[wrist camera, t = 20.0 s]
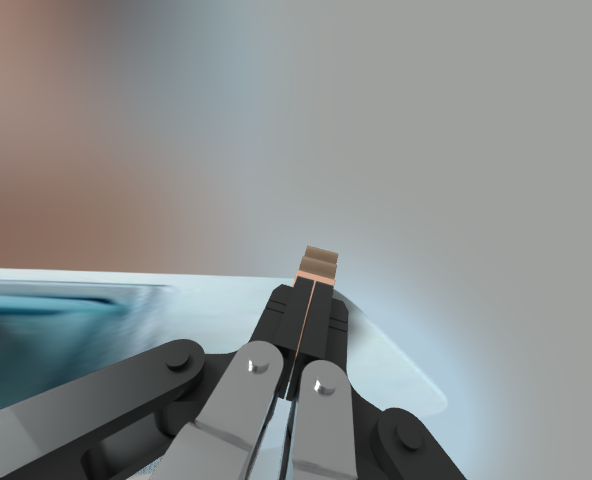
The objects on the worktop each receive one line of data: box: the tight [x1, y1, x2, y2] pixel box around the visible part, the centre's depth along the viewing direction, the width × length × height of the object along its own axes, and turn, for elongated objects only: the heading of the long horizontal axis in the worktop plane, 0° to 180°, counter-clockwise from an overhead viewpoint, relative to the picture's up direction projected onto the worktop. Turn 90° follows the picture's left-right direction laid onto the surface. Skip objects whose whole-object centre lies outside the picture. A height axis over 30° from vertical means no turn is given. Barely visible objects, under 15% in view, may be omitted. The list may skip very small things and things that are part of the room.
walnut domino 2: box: [299, 256, 337, 280], centre depth 35 cm, size 2×5×10 cm
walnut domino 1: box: [305, 246, 338, 265], centre depth 38 cm, size 2×5×10 cm
